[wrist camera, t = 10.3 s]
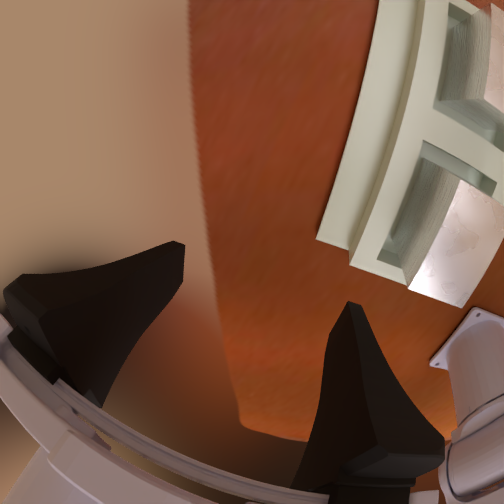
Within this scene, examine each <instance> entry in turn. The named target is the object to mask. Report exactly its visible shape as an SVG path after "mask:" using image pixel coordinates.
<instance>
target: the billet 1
mask: <svg viewBox="0 0 504 504" xmlns="http://www.w3.org/2000/svg"><path fill="white" fill-rule="evenodd" d="M439 101H440V102H442V103H444V104H445V105H447V106H449V107H451V108H453V109H454V110H456V111H458V112H460V113H461V114H463V115H465V116H466V117H468V118H469V119H471V120H473V121H474V122H476V123H477V124H479V125H480V126H482V127H483V128H485V129H487V130H492V131H496V132H501V133H504V12H503V11H502V10H501V9H499V8H498V7H497V6H495V5H494V4H492V3H490V4H488V5H486V6H485V7H483V8H481V9H480V10H478V11H477V12H475V13H473V14H472V15H470V16H469V17H467V18H466V19H464V20H463V21H461V22H460V23H458V24H457V25H455V26H454V27H452V30H451V39H450V47H449V54H448V60H447V66H446V72H445V77H444V82H443V87H442V91H441V96H440V100H439Z"/></svg>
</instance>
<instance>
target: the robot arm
mask: <svg viewBox="0 0 504 504" xmlns="http://www.w3.org/2000/svg"><path fill="white" fill-rule="evenodd" d="M184 255H185V245H184V244H181V243H178V242H175V241H171V242H168V243H165V244H162V245H159V246H156V247H154V248H152V249H149V250H146V251H143V252H141V253H138V254H135V255H133V256H130V257H127V258H124V259H121V260H118V261H115V262H112V263H108V264H105V265H101V266H97V267H93V268H88V269H83V270H77V271H71V272H63V273H52V274H22V275H20V276H19V277H18V278H17V279H15V280H14V281H13V282H12V283H10V284H9V285H8V286H7V287H6V288H5V289H4V290H3V295H4V299H5V302H6V304H7V306H8V308H9V310H10V312H11V314H12V316H13V319H14V321H15V322H16V324H17V327H16V328H14V329H13V328H12V327H11V325H10V324H9V323H8V322H7V321H6V319H5V318H3V316H2V315H1V314H0V398H1V399H2V401H3V402H4V403H5V404H6V406H7V407H8V408H9V409H10V411H11V412H12V414H13V415H14V416H15V417H16V418H17V420H18V421H19V422H20V423H21V424H22V426H23V427H24V428H25V429H26V430H27V431H28V432H29V433H30V435H31V436H32V437H33V438H34V439H35V440H36V441H37V442H38V443H39V444H40V445H41V446H40V447H39V449H38V450H37V452H36V453H35V454H34V456H33V457H32V459H31V460H30V461H29V463H28V464H27V466H26V467H25V469H24V470H23V472H22V473H21V475H20V477H19V478H18V479H17V481H16V482H15V484H14V485H13V487H12V488H11V490H10V492H9V493H8V495H7V497H6V498H5V499H4V501H3V503H2V504H218V503H215V502H213V501H210V500H207V499H205V498H202V497H200V496H197V495H195V494H192V493H190V492H187V491H185V490H183V489H181V488H178V487H176V486H174V485H171V484H169V483H167V482H165V481H163V480H161V479H159V478H157V477H155V476H153V475H151V474H149V473H147V472H145V471H143V470H142V469H140V468H138V467H136V466H134V465H132V464H131V463H129V462H127V461H126V460H124V459H122V458H120V457H119V456H117V455H115V454H114V453H112V452H111V451H110V450H111V446H109V445H108V444H107V443H106V442H104V440H102V438H100V436H98V434H97V433H96V431H95V430H94V429H93V428H91V427H90V426H89V425H88V424H86V423H85V422H84V421H83V420H81V419H80V418H79V417H78V415H79V416H80V417H82V418H83V419H84V420H86V421H87V422H88V423H90V424H91V425H93V426H94V427H95V428H97V429H98V430H100V431H101V432H103V433H104V434H106V435H107V436H109V437H110V438H112V439H113V440H115V441H117V442H118V443H120V444H121V445H123V446H125V447H126V448H128V449H130V450H132V451H133V452H135V453H137V454H139V455H140V456H142V457H144V458H146V459H148V460H150V461H152V462H154V463H156V464H158V465H160V466H162V467H164V468H166V469H169V470H170V471H172V472H174V473H177V474H179V475H181V476H184V477H186V478H188V479H191V480H193V481H196V482H198V483H201V484H203V485H206V486H209V487H212V488H214V489H217V490H220V491H223V492H226V493H229V494H233V495H236V496H239V497H243V498H246V499H250V500H254V501H258V502H262V503H266V504H438V497H439V491H438V490H432V491H423V492H415V493H410V487H413V486H414V485H415V483H416V477H418V476H420V475H423V474H425V473H427V472H429V471H431V470H433V469H435V468H437V467H439V482H440V486H441V489H442V491H443V493H444V495H445V498H446V503H447V504H504V482H502V483H500V484H498V485H496V486H494V487H492V488H490V489H486V490H481V489H483V488H486V487H488V486H490V485H492V484H494V483H496V482H498V481H500V480H502V479H504V318H503V317H500V316H498V315H495V314H493V313H490V312H488V311H485V310H483V309H480V308H478V307H474V308H472V309H471V310H470V312H469V313H468V315H467V316H466V317H465V319H464V320H463V321H462V323H461V324H460V325H459V327H458V328H457V329H456V330H455V332H454V333H453V334H452V335H451V337H450V338H449V339H448V340H447V342H446V343H445V344H444V345H443V346H442V347H441V349H440V350H439V351H438V352H437V353H436V354H435V355H434V357H433V358H432V359H431V360H430V361H429V364H430V366H432V367H437V368H441V369H446V370H448V371H449V376H450V381H451V386H452V392H453V398H454V404H455V411H456V418H457V427H458V428H457V429H455V430H454V431H452V432H451V437H452V441H451V442H450V443H449V444H448V445H447V446H446V447H445V440H444V437H443V436H442V435H441V434H440V433H439V432H438V431H437V430H436V429H435V428H434V427H433V426H432V425H431V424H430V423H429V422H428V420H427V419H426V418H425V417H424V416H423V415H422V413H421V412H420V411H419V410H418V409H417V407H416V406H415V405H414V404H413V402H412V401H411V399H410V398H409V397H408V395H407V394H406V392H405V391H404V390H403V388H402V387H401V385H400V383H399V382H398V380H397V379H396V377H395V375H394V374H393V372H392V370H391V368H390V367H389V365H388V363H387V361H386V359H385V357H384V355H383V353H382V351H381V349H380V347H379V345H378V342H377V340H376V338H375V336H374V334H373V331H372V329H371V327H370V324H369V322H368V320H367V317H366V315H365V313H364V310H363V308H362V306H361V305H359V304H356V303H353V302H350V301H348V302H347V304H346V305H345V307H344V309H343V311H342V313H341V314H340V316H339V318H338V320H337V322H336V323H335V325H334V327H333V328H332V330H331V332H330V334H329V338H328V342H327V347H326V351H325V357H324V367H323V376H322V384H321V393H320V400H319V405H318V410H317V414H316V417H315V421H314V424H313V428H312V431H311V434H310V438H309V441H308V444H307V447H306V449H305V452H304V455H303V458H302V460H301V463H300V465H299V468H298V470H297V472H296V475H295V477H294V479H293V482H292V484H291V486H290V488H289V489H288V488H284V487H279V486H275V485H270V484H266V483H262V482H258V481H255V480H251V479H248V478H244V477H241V476H238V475H235V474H232V473H229V472H226V471H223V470H220V469H217V468H214V467H212V466H209V465H206V464H204V463H201V462H199V461H196V460H194V459H192V458H189V457H187V456H184V455H182V454H180V453H178V452H176V451H173V450H171V449H169V448H167V447H165V446H163V445H161V444H159V443H157V442H155V441H153V440H151V439H149V438H148V437H146V436H144V435H142V434H140V433H138V432H137V431H135V430H133V429H131V428H130V427H128V426H126V425H125V424H123V423H121V422H120V421H118V420H117V419H115V418H113V417H112V416H110V415H109V414H107V413H106V412H104V411H103V410H101V409H100V408H102V406H103V404H104V401H105V399H106V397H107V395H108V393H109V390H110V388H111V386H112V384H113V382H114V380H115V378H116V376H117V374H118V373H119V371H120V369H121V367H122V365H123V364H124V362H125V360H126V359H127V357H128V355H129V353H130V352H131V350H132V349H133V347H134V346H135V344H136V343H137V341H138V339H139V338H140V337H141V335H142V334H143V333H144V331H145V330H146V329H147V328H148V327H149V325H150V324H151V323H152V322H153V320H154V319H155V318H156V317H157V316H158V315H159V314H160V312H161V311H162V310H163V309H164V308H165V306H166V305H167V304H168V303H169V302H170V300H171V299H172V298H173V296H174V295H175V293H176V292H177V290H178V289H179V287H180V285H181V284H182V282H183V271H184ZM77 414H78V415H77ZM245 504H259V503H253V502H247V503H245Z"/></svg>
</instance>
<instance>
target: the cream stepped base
mask: <svg viewBox="0 0 504 504" xmlns="http://www.w3.org/2000/svg"><path fill="white" fill-rule="evenodd" d="M478 10H480V9H478V8H477V7H475V6H473V5H472V4H470V3H469V2H467V1H465V0H379V4H378V10H377V15H376V21H375V26H374V31H373V36H372V41H371V46H370V51H369V55H368V60H367V64H366V69H365V73H364V77H363V81H362V85H361V89H360V93H359V97H358V101H357V105H356V109H355V113H354V116H353V120H352V124H351V127H350V131H349V134H348V138H347V141H346V145H345V148H344V152H343V155H342V158H341V162H340V165H339V168H338V172H337V175H336V178H335V181H334V184H333V188H332V191H331V194H330V197H329V200H328V203H327V206H326V209H325V212H324V215H323V218H322V221H321V224H320V227H319V230H318V232H317V236H316V239H317V240H320V241H323V242H326V243H329V244H332V245H335V246H338V247H340V248H343V249H346V250H349V265H351V266H354V267H357V268H359V269H362V270H365V271H368V272H371V273H374V274H377V275H379V276H382V277H385V278H388V279H391V280H394V281H396V282H399V283H402V284H405V285H407V284H406V280H405V277H404V274H403V271H402V268H401V265H400V262H399V259H398V256H397V253H396V250H395V247H394V244H393V241H392V239H391V237H392V235H393V233H394V231H395V228H396V226H397V224H398V221H399V219H400V217H401V214H402V212H403V210H404V207H405V205H406V202H407V200H408V197H409V195H410V192H411V189H412V187H413V184H414V181H415V179H416V176H417V173H418V170H419V167H420V165H421V162H422V159H423V158H426V159H428V160H430V161H432V162H434V163H436V164H438V165H440V166H442V167H443V168H445V169H447V170H449V171H451V172H453V173H455V174H456V175H458V176H460V177H462V178H464V179H465V180H467V181H469V182H470V183H472V184H473V185H475V186H477V187H478V188H480V189H481V190H483V191H484V192H485V193H487V194H488V195H490V196H491V197H493V198H494V199H495V200H497V201H498V202H500V203H501V204H502V205H504V133H501V132H496V131H492V130H487V129H485V128H483V127H482V126H480V125H479V124H477V123H476V122H474V121H473V120H471V119H469V118H468V117H466V116H465V115H463V114H461V113H460V112H458V111H456V110H454V109H453V108H451V107H449V106H447V105H445V104H444V103H442V102H440V101H439V100H440V96H441V91H442V87H443V82H444V77H445V72H446V66H447V60H448V54H449V47H450V39H451V30H452V27H454V26H455V25H457V24H458V23H460V22H461V21H463V20H464V19H466V18H467V17H469V16H470V15H472V14H473V13H475V12H477V11H478Z"/></svg>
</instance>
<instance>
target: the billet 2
mask: <svg viewBox="0 0 504 504" xmlns="http://www.w3.org/2000/svg"><path fill="white" fill-rule="evenodd" d="M503 238H504V205H502V204H501V203H500V202H498V201H497V200H495V199H494V198H493V197H491V196H490V195H488V194H487V193H485V192H484V191H483V190H481V189H480V188H478V187H477V186H475V185H473V184H472V183H470V182H469V181H467V180H465V179H464V178H462V177H460V176H458V175H456V174H455V173H453V172H451V171H449V170H447V169H445V168H443V167H442V166H440V165H438V164H436V163H434V162H432V161H430V160H428V159H426V158H423V159H422V162H421V165H420V167H419V170H418V173H417V176H416V179H415V181H414V184H413V187H412V189H411V192H410V195H409V197H408V200H407V202H406V205H405V207H404V210H403V212H402V214H401V217H400V219H399V221H398V224H397V226H396V228H395V231H394V233H393V235H392V237H391V239H392V241H393V244H394V247H395V250H396V253H397V256H398V259H399V262H400V265H401V268H402V271H403V274H404V277H405V280H406V284H407V287H408V289H410V290H413V291H415V292H418V293H421V294H424V295H426V296H429V297H432V298H435V299H438V300H440V301H443V302H446V303H448V304H451V305H454V306H457V307H459V308H462V307H463V306H464V305H465V303H466V302H467V300H468V299H469V297H470V296H471V294H472V293H473V291H474V289H475V288H476V286H477V285H478V283H479V281H480V280H481V278H482V277H483V275H484V273H485V271H486V270H487V268H488V266H489V264H490V263H491V261H492V259H493V257H494V255H495V253H496V252H497V250H498V248H499V246H500V244H501V242H502V240H503Z"/></svg>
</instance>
